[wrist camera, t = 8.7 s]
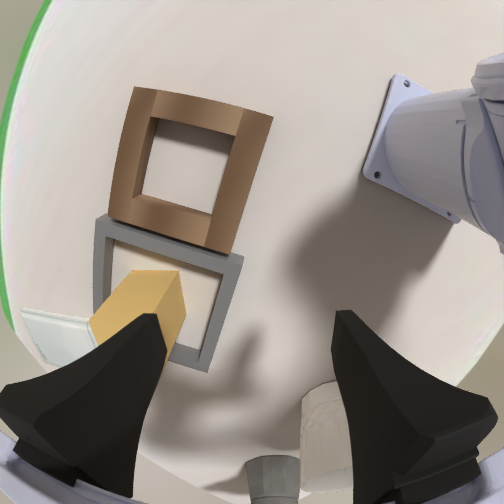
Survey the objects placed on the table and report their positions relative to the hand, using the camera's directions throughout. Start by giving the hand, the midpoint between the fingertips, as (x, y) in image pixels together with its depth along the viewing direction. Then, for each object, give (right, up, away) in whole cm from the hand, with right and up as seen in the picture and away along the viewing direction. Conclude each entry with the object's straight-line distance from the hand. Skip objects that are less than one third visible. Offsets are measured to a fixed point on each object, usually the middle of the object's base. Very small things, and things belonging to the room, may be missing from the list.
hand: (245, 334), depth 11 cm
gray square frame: (-7, 0, +11) cm, 13 cm away
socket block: (-4, +9, +7) cm, 12 cm away
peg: (-7, 0, +11) cm, 13 cm away
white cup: (+9, -12, +15) cm, 21 cm away
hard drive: (-20, -7, +15) cm, 26 cm away
